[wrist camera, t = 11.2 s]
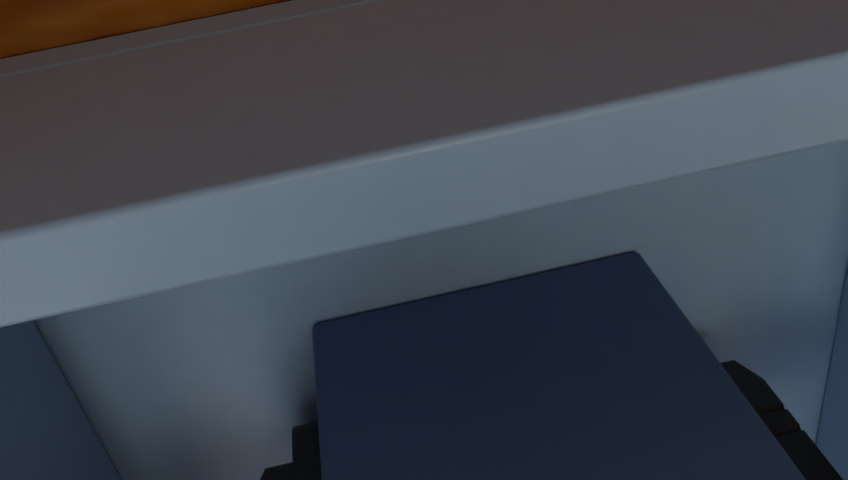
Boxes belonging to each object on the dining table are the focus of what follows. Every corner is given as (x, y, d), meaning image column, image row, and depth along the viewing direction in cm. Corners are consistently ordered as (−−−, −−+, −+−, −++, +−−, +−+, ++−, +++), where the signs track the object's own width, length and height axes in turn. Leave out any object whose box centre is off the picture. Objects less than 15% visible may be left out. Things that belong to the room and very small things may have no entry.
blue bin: (-128, 83, 9) (-430, 326, 5) (927, -130, 10) (1355, -56, 6) (210, 671, 17) (190, 960, 13) (806, 523, 18) (965, 752, 13)
